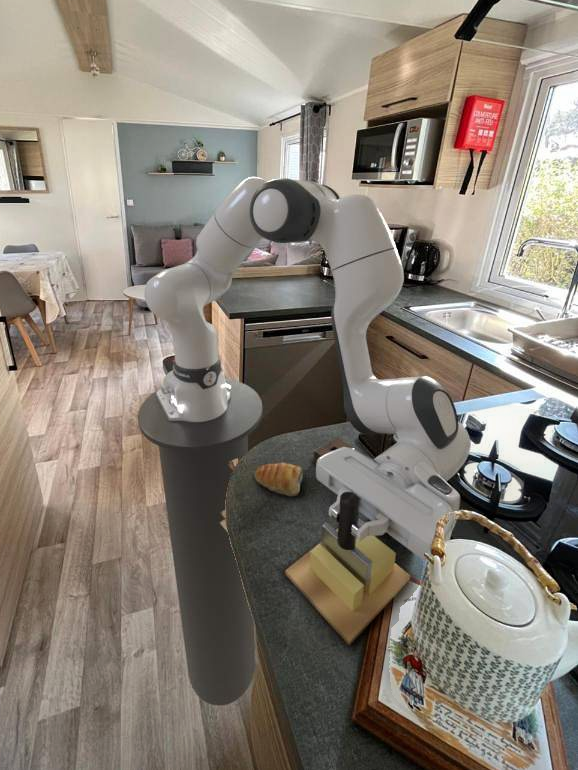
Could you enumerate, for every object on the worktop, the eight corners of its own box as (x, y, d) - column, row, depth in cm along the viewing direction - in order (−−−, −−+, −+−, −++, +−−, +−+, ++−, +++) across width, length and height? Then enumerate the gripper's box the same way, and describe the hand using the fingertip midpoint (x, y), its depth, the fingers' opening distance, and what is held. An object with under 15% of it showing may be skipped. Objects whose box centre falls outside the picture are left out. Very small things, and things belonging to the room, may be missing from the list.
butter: (325, 554, 60) (326, 537, 58) (350, 533, 63) (351, 517, 62) (369, 595, 54) (371, 577, 52) (393, 570, 57) (396, 553, 56)
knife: (317, 547, 57) (320, 485, 53) (329, 538, 59) (332, 477, 55) (362, 589, 51) (369, 523, 47) (373, 578, 53) (381, 512, 49)
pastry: (250, 490, 73) (250, 474, 72) (258, 466, 80) (258, 451, 78) (299, 499, 71) (299, 483, 70) (303, 474, 77) (304, 459, 76)
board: (284, 574, 58) (285, 570, 57) (344, 525, 65) (345, 522, 65) (349, 645, 49) (349, 641, 48) (409, 579, 56) (410, 575, 56)
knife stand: (313, 462, 80) (314, 450, 79) (336, 448, 84) (336, 436, 83) (362, 498, 71) (364, 485, 70) (385, 480, 75) (387, 468, 74)
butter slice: (309, 567, 58) (310, 551, 56) (318, 560, 59) (319, 543, 57) (352, 612, 52) (354, 594, 50) (362, 602, 53) (364, 585, 51)
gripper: (348, 429, 66) (291, 464, 59) (472, 502, 51) (416, 562, 43) (346, 459, 68) (290, 496, 61) (464, 536, 53) (410, 600, 45)
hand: (343, 524), depth 52 cm, fingers closed on knife, 2 cm apart
